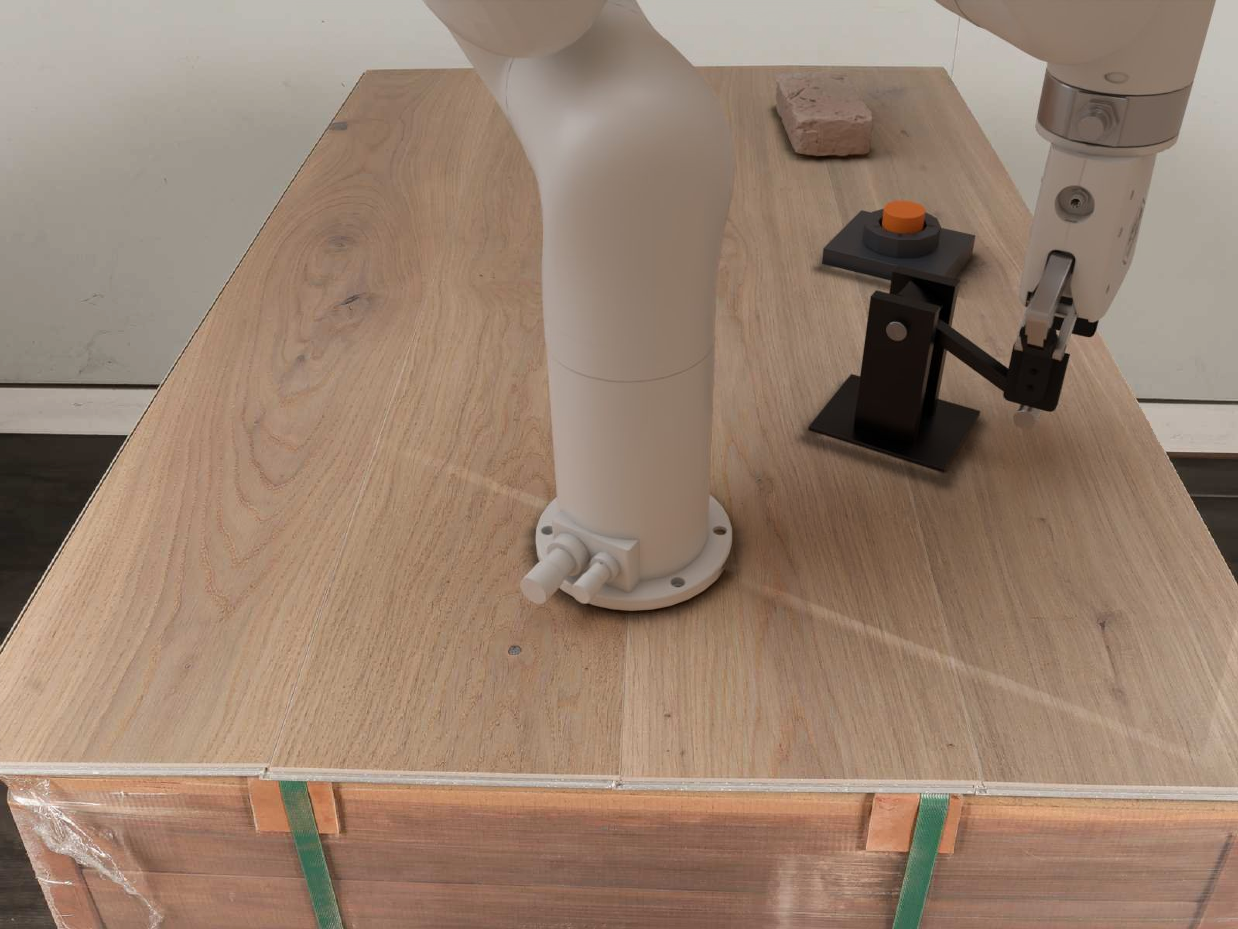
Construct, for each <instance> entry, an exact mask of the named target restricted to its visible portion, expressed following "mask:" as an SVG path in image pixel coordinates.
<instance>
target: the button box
mask: <svg viewBox="0 0 1238 929" xmlns="http://www.w3.org/2000/svg"><path fill="white" fill-rule="evenodd" d="M883 211H884V208H881V209H877V210H873V211H867V210H862V209H861V210H860V211H858V213H857V214H856V215H855V216H854V217H852V219H851V220H850V221H849V222H848V223H847V224H845V226H844V227H842V228H841V229H840V231H839V232H838V233H837V234H836V235H835V236H834V237H833V238H832V239H831V240H830V241H829V242H828V243H827V244H826V245H825V246H824V247H823V250H822V260H821V264H822V265H825V266H828V267H833V268H837V269H842V270H845V271H849V272H853V273H858V274H861V275H865V276H869V277H874V278H878V279H882V280H886V281H890V282H891V278H892V271H893V270H894V269H895V268H896V267H897V266H902V267H906V268H911V269H915V270H919V271H923V272H927V273H932V274H936V275H940V276H944V277H948V278H953V279H956V278H957V276H958V275H959V274H960V273H961V271H963V269H964V267H965V266H967V263H968V262H969V261H970V260H971V259H972V257H973V251H974V247H975V241H976V235H975V234H972V233H967V232H963V231H957V230H953V229H950V228H949V229H948V228H944V227H942V226H941V223H940V222H939V219H938V218H937V217H935V216H933V215H932V214H930V213H929V212H925V218H924V225H923V230H922V231H920V232H916V233H913V234H900V233H896V232H891V231H888V230H886V229H884V228H882V219H883Z"/></svg>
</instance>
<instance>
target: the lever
mask: <svg viewBox="0 0 1238 929" xmlns="http://www.w3.org/2000/svg"><path fill="white" fill-rule="evenodd" d="M898 296H901V297H905V298H909V299H913V300H917V301H921V302H925V303H929V304H933V305H937V306H940V310H941V308H942V307H943V304H942V303H941V302H939V301H938V300H936V299H935V298H934V297H932V296H931V295H930V294H928V293H927V292H925V291H924V290H923V289H921V288H920V287H918V286H917V285H916V284H914V283H913V282H912V281H909V282H908V283H907V285H906V286H905V287H904V288H903V289H902V291H901V292H900V293H899V294H898ZM934 341H935V342H936V343H937V344H939V345H940V346H942V347H943V348H944V349H946V350H947V353H949V354H951V355H953V356H954V357H955V358H957V359H958V360H960V362H962V363H963V364H965V365H966V366H967V367H969V368H970V369H972V370H973V371H974V372H976V373H977V374H978V375H979V376H981V377H982V378H984V379H985V380H986V381H988V382H990V383H991V384H992V385H994V387H996V388H998V389H999V390H1000V391H1002V392H1003V393H1004V388H1005V383H1006V378H1007V373H1008V369H1009V367H1007V366H1006V365H1004V364H1003V363H1001V361H999V360H997V359H996V358H995V357H993V356H992V355H991V354H989V353H988V352H986V351H985V350H984V349H982V348H981V347H980V346H978V344H976V343H974V342H973V341H971V340H970V339H969V338H967V337H966V336H964V335H963V334H962V333H960V332H959V331H958V330H956V329H955V328H953V327H950V326H949V325H948V324H946V323H945V322H944V321H942V320H941V319H939V318H938V323H937V328H936V334H935V340H934ZM1043 412H1044V410H1040V409H1036V408H1032V407H1029V406H1025V405H1021V404H1019V406H1018V408H1017V409H1016V411H1015V412H1014V415H1013V422H1014V424H1015V425H1016V427H1017V428H1019V429H1022V430H1030V429H1033V428H1034V427H1035V426H1036V424H1037V423H1038V421H1039V419H1040V417H1041V416H1042V414H1043Z"/></svg>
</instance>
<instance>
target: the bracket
mask: <svg viewBox="0 0 1238 929" xmlns="http://www.w3.org/2000/svg"><path fill="white" fill-rule="evenodd" d="M909 281H912V282H913V283H914V284H916V285H917V286H918V287H920V288H921V289H923V290H924V291H925V292H927V293H928V294H930V295H931V296H932V297H934V298H935V299H936V300H938V301H939V302H941V303H942V304H943V307H942V308H941V310H940V306H937V305H933V304H929V303H925V302H921V301H917V300H913V299H909V298H905V297H901V296H898V294H899V293H900V292H901V291H902V289H903V288H904V287H905V286H906V285H907V283H908V282H909ZM960 284H961V280H960V279H956V278H955V279H953V278H948V277H944V276H940V275H936V274H932V273H927V272H923V271H919V270H915V269H911V268H906V267H902V266H897V267H896V268H895V269H894V270H893V271H892V278H891V281H890V286H889V292H885V291H881V290H877V289H876V290H874V292H873V293H872V294H871V295H870V298H869V306H868V307H869V308H868V313H867V322H866V328H865V329H866V330H865V338H864V344H863V350H862V359H861V367H860V374H859V375H858V374H854V373H851V374H850V375H849V376H848V377H847V379H846V380H845V381H844V382H843V384H842V385H841V386H840V387H839V388H838V390H837V391H836V392H835V394H833V396H832V397H831V398H830V400H829V401H828V402H827V403H826V404H825V406H824V407H823V408H822V409H821V411H820V412H819V413H818V414H817V416H815V418H814V419H813V420H812V422H811V423H810V424H809V425H808V428H807V431H810V432H814V433H816V434H818V435H819V434H820V435H823V436H826V437H828V438H832V439H834V440H835V439H836V440H838V441H842V442H844V443H849V444H851V445H855V446H858V447H860V448H864V449H866V450H870V451H873V452H876V453H880V454H883V455H886V456H889V457H892V458H895V459H898V460H901V461H904V462H908V463H911V464H915V465H918V466H921V467H924V468H926V469H931V470H934V471H936V472H940V473H945V472H946V470H947V469H948V467H949V466H950V463H951V462H952V460H953V459H954V458H955V456H956V454H957V452H958V451H959V450H960V448H961V446H962V444H963V443H964V441H965V439H966V438H967V437H968V435H969V433H970V431H971V430H972V428H973V426H974V425H975V423H976V421H977V420H978V418H979V417H980V414H981V410H978V409H975V408H971V407H969V406H964V405H961V404H958V403H955V402H951V401H947V400H944V399H940V398H939V396H940V390H941V386H942V380H943V375H944V370H945V364H946V358H947V354H948V351H947V350H946V349H944V348H943V347H942V346H940V345H939V344H937V343H936V342H935V341H934V340H935V334H936V328H937V323H938V318H939V319H941V320H942V321H944V322H945V323H946V324H948V325H949V326H950V327H952V326H953V321H954V315H955V311H956V304H957V299H958V293H959V288H960ZM952 328H953V327H952Z"/></svg>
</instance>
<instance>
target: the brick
mask: <svg viewBox="0 0 1238 929" xmlns="http://www.w3.org/2000/svg"><path fill="white" fill-rule="evenodd" d="M776 85H777V86H776V88H775V90H776V92H775V100H776V104H775V108H776V112H777V115H778V117H780V118H781V123H782V124H783V127H784V131H785V132H786V134H787V136H788V140H789V142H790V144H791V146H792V149H794V152H795V153H797V154H800V155H806V156H815V157H826V156H827V157H828V156H838V157H845V156H848V155H852V156H853V155H865V154H869V152H870V151H871V147H872V138H873V136H872V132H873V129H874V122H873V120H874V119H873V118H874V115H873V112H872V111H871V110H870V109H869V108H868V106H866V105H865V103H864V102H863V101H862V100H861V99H860V96H859V93H858V92H857V90H856V88H855V86H854V84H853V82H852V81H851V78H849V77H848V75H847V74H846V73H845V72H842V71H835V70H834V71H833V70H823V71H822V70H818V71H816V72H815V71H806V72H802V71H799V72H793V73H781V74H779V75H778V77H777V78H776Z"/></svg>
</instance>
